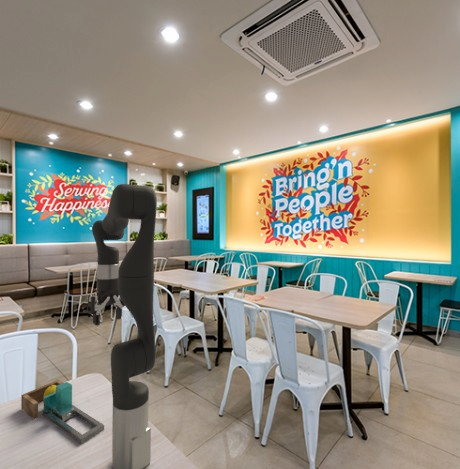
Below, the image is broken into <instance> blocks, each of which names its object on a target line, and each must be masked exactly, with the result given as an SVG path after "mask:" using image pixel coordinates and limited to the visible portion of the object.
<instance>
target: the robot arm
mask: <svg viewBox="0 0 460 469" xmlns="http://www.w3.org/2000/svg"><path fill="white" fill-rule="evenodd" d="M157 206H158V199H157V192H156V190H155V189H154V187H153V186H149V185H139V184H130V183H129V184H128V183H120V184H117V185H116V186H115V187H114V189H113V191H112V194H111V196H110V200H109V205H108V209H107V213H106V215H105V216H104V218H103V220H101V219H100V220H99V219H98V220H96V221H95V222H94V223H93V224H92V228H91V232H92V235H93V239H94V241H95V245H96V252H97V266H96V292H97V293H96V295H88V296H87V306H86V307H87V308H86V309H87V310H86V312H87V313H88V314H90V315H92V324H94V325H95V326H99V325H100V321H101V320H100V319H101V318H100V317H101V315H100V313H101V312H102V310H103V309H104V308H105V307H109V306H111V305H112V306H113V305H114V306H115V319H116V320H121V319H122V317H123V308H124V307H125V308H126V309H127V310H128V311H129V312H130V314H131V316H132V318H133V319H134V321H135V323H136V324H135V325H136V329H137V338H134V339H130V340H127V341H121V342H119V343H115V344H114V346H112V349H111V352H110V370H111V371H110V374H111V393H112V433H111V434H112V438H111V440H112V447H111V452H112V459H111V461H112V463H111V464H112V469H144V468H146V467H147V466H148V465H150V464H151V454H152V452H151V449H152V448H151V446H152V445H151V444H152V436H151V435H152V429H151V427H149V407H150V406H149V404H150V403H149V402H150V401H149V400H150V399H149V398H150V394H149V393H150V391H149V387H148V385H147V384H146V383H144V382H142V381H137V380H130V379H131V378H134V377H136V376H138V375H142V374H145V373H149V372H150V371H151V370H152V369H153V368H154V366H155V363H156V355H157V354H156V353H157V352H156V337H155V336H156V335H155V325H154V323H155V322H154V290H155V289H154V288H155V287H154V286H155V262H154V261H155V260H154V259H155V254H154V253H155V252H154V250H155V248H154V247H155V246H154V245H155V232H156V220H157V211H158V210H157V208H158V207H157ZM130 220H138V221H139V220H140V228H139V231H138V233H137V237H136V238H135V241H134V242H133V244H132V246H131V247H130V249H128V251H127V253H126V255H125V256H124V258H123V259H122V261H121V263H120V250H119V248H117V246H116V247H115V246H111V245H106V243H105V241H119V240H122V239H123V238H124V235H125V229H127V227H128V225H129V222H130Z"/></svg>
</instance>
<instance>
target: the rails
mask: <svg viewBox="0 0 460 469" xmlns="http://www.w3.org/2000/svg"><path fill="white" fill-rule="evenodd" d="M72 408H74V409H75V417H77V418H79V419H80V420H82V421H83V422H85V423H86V424H88V425H89V426H91V427H92V428H91V429H89V430H88V431H86V432H85V433H83V434H82V433H81V432H80V431H78V430H77V429H76V428H73V427H72V425H69V424H68V423H67V422H65V421H62V420H61V419H60V418H58V417H57V416H55V415H54V414H53V413H52V411H49V412H46V413H44V409H43V410H42V411H41V412H42V413H41V415H42V416H43V417H44V418H45V419H47V420H49V422H51V423H52V424H53V425H55V426H56V427H58V428H59V429H60V430H62V431H63V432H64V433H66V434H67V435H69V437H71V438H72V439H74V440H75V441H76V442H78V443H79V444H80V445H82V444H84V443H86V442H87V441H89V440H91V439H92V438H93V437H95V436H97V435H98V434H100V433H101V432H103V431H104V430H105V424H103V423H102V422H101V421H98V420H97V419H95V418H94V417H92V416H90V415H89V414H88V413H86V412H84V411H83V410H81V409H79V408H78V407H76V406H75V405H74V404H72Z"/></svg>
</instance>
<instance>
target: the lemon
mask: <svg viewBox="0 0 460 469" xmlns="http://www.w3.org/2000/svg"><path fill="white" fill-rule="evenodd" d="M54 392H56V385H51V386H50V387H48V388H47V389H46V391H45V392H44V396H43V403H44V397H45V396H48V395H50V394H52V393H54Z"/></svg>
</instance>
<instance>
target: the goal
mask: <svg viewBox="0 0 460 469" xmlns="http://www.w3.org/2000/svg"><path fill="white" fill-rule="evenodd" d="M62 383H64V382H63V381H62V380H59V379H56V380H54V381H52V382H50V383H47V384H44V385H43V386H40V387H38V388H35V389H33V390H32V389H31V391H27V392H25V393H23V394H21V397H20V398H21V400H20V401H21V407H20V408H21V410H22V412H24V413H26V414H27V415H28V416H30V417H31V418H32V419H33V420H36V419H38V418H39V404H40V403H42V402H43V396H44V392H45V391H46V389H47V388H48V387H50V386H51V385H56V386H58V385H60V384H62ZM43 403H44V402H43Z"/></svg>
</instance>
